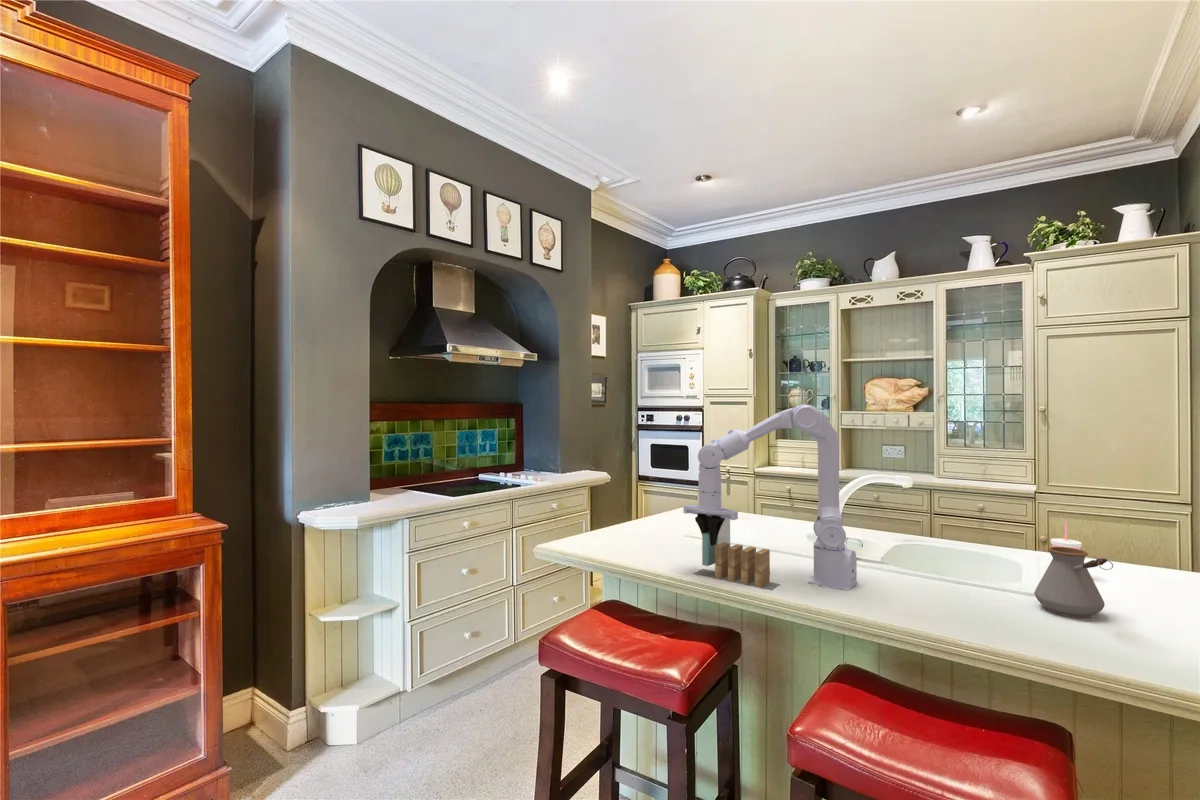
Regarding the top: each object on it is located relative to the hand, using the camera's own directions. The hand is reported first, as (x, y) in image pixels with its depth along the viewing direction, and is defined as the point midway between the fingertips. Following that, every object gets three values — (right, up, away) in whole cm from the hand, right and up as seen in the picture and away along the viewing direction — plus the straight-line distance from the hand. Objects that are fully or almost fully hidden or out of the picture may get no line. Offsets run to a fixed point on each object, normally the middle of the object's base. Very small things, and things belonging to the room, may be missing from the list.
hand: (710, 544), depth 147 cm
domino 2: (+5, -7, -4) cm, 10 cm away
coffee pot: (+69, -8, -31) cm, 76 cm away
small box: (+7, -8, +25) cm, 27 cm away
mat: (+5, -8, -4) cm, 10 cm away
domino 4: (+11, -7, -9) cm, 16 cm away
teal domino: (0, -5, 0) cm, 5 cm away
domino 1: (+3, -8, -2) cm, 8 cm away
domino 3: (+8, -7, -7) cm, 13 cm away
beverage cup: (+89, -8, -3) cm, 90 cm away
